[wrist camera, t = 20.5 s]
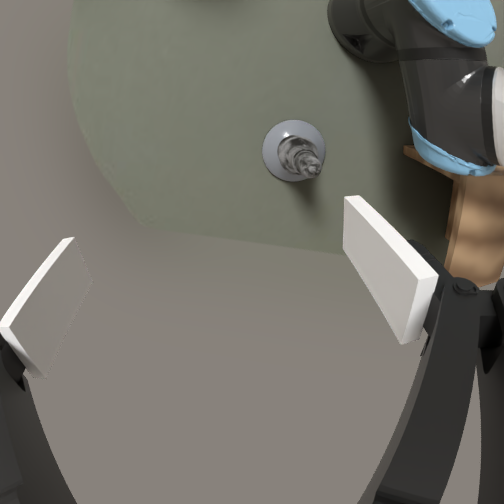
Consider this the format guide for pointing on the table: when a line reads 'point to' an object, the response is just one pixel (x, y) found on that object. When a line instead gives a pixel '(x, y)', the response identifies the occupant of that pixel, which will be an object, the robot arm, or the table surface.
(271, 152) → the saucer
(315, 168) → the grey figurine
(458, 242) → the walnut shelf
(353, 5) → the robot arm
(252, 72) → the table surface
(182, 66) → the table surface
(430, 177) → the table surface
